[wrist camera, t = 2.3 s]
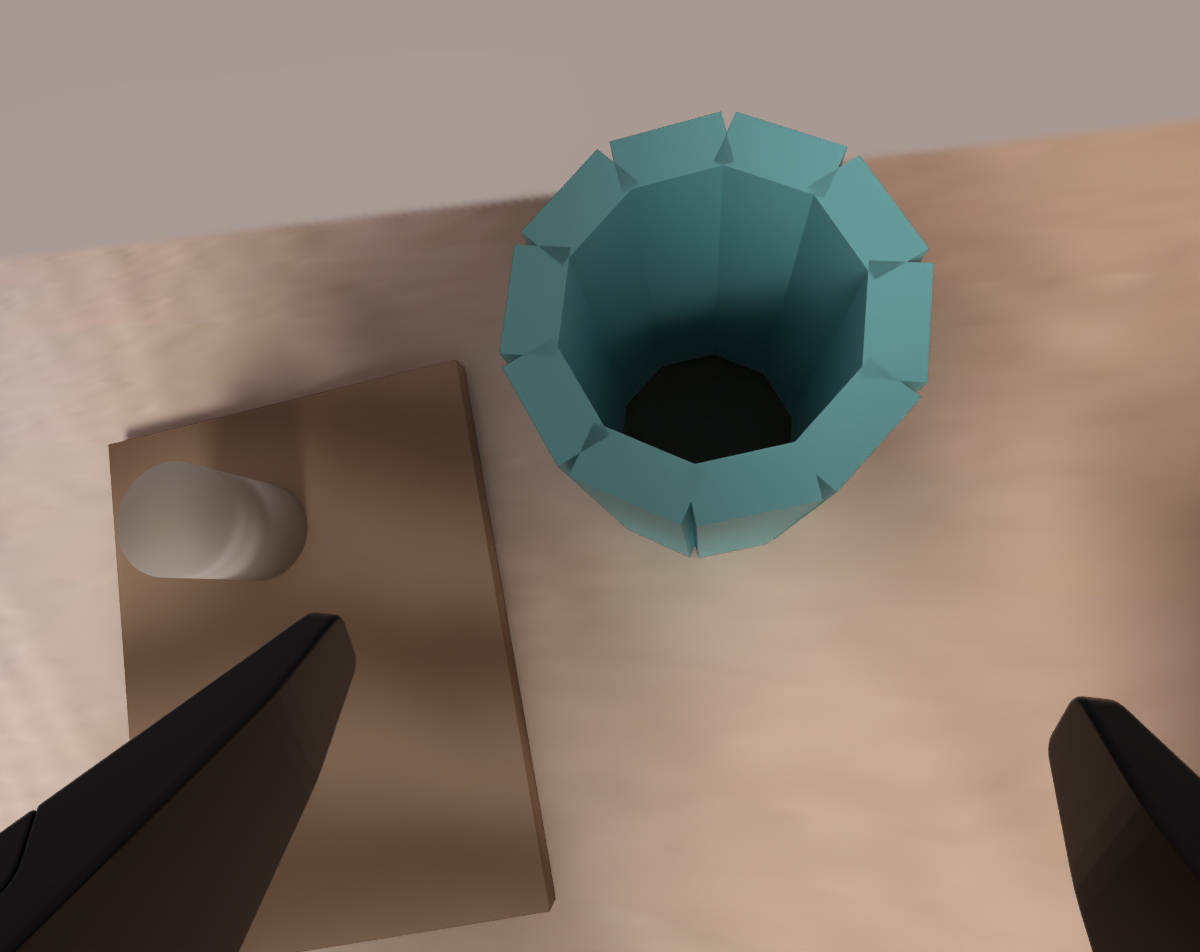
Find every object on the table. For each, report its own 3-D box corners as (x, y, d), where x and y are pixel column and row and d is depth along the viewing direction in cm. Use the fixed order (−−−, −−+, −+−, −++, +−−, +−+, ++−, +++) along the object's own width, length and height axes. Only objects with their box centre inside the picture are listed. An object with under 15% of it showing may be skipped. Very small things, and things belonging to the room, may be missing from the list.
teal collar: (856, 525, 21) (995, 463, 11) (611, 576, 22) (537, 560, 12) (796, 302, 22) (873, 70, 12) (567, 357, 23) (467, 179, 13)
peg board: (555, 899, 20) (511, 990, 16) (167, 962, 21) (17, 1066, 17) (464, 367, 23) (404, 310, 19) (127, 449, 24) (-9, 414, 20)
